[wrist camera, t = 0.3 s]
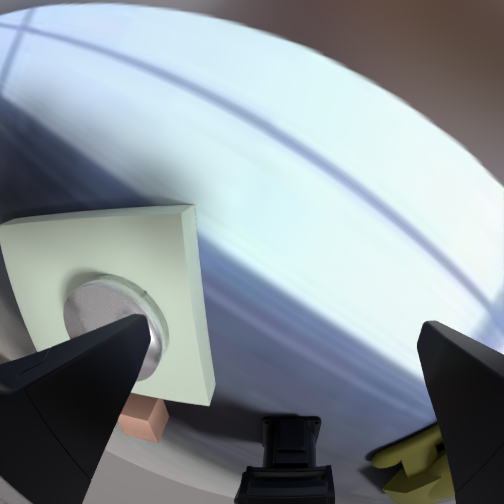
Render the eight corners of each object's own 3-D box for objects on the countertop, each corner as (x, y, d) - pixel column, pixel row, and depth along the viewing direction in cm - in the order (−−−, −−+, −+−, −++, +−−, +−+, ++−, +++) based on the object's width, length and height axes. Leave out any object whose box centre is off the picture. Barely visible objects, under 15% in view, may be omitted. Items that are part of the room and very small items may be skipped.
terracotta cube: (169, 415, 30) (158, 442, 26) (137, 409, 31) (124, 434, 27) (161, 392, 29) (147, 420, 25) (127, 385, 29) (112, 411, 25)
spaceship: (402, 495, 37) (408, 529, 28) (365, 451, 30) (373, 508, 21) (536, 416, 28) (552, 444, 19) (559, 325, 21) (593, 360, 12)
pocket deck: (215, 384, 27) (209, 406, 24) (56, 353, 30) (44, 366, 27) (194, 204, 21) (181, 213, 18) (15, 218, 23) (-4, 226, 21)
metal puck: (178, 370, 23) (168, 389, 21) (95, 355, 24) (83, 370, 22) (158, 276, 20) (144, 292, 18) (68, 271, 21) (50, 283, 19)
